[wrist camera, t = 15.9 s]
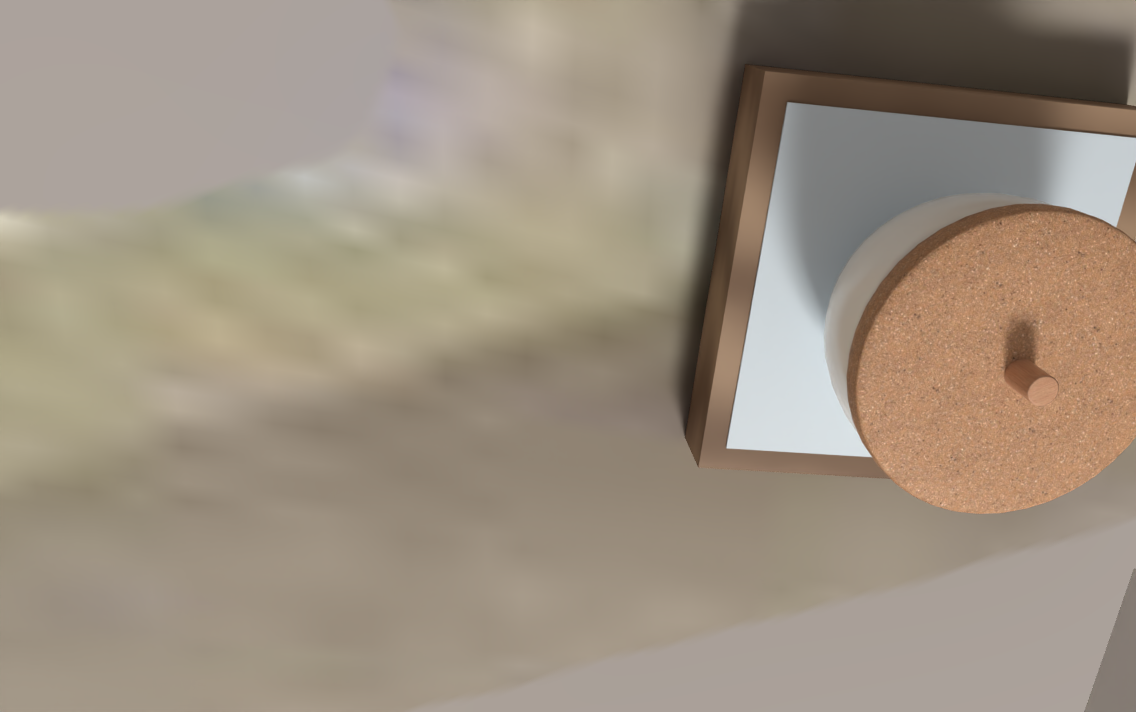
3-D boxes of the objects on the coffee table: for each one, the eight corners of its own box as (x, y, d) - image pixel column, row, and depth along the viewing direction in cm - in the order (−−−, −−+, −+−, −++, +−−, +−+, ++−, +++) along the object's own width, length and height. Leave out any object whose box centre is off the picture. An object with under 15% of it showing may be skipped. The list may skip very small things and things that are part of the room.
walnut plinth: (745, 63, 39) (765, 71, 37) (1127, 104, 41) (1175, 114, 38) (685, 437, 45) (699, 468, 42) (1024, 458, 47) (1059, 489, 44)
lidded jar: (1075, 363, 42) (1233, 467, 33) (831, 460, 43) (923, 587, 34) (1019, 119, 38) (1181, 164, 29) (752, 230, 39) (832, 306, 30)
